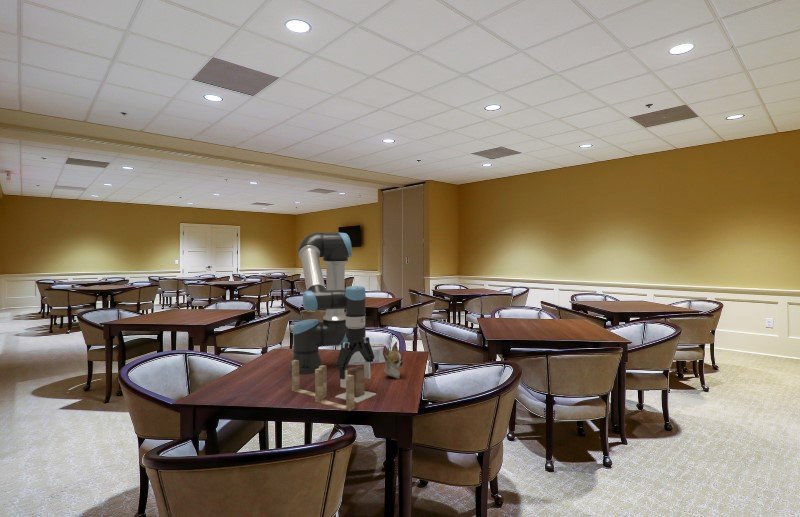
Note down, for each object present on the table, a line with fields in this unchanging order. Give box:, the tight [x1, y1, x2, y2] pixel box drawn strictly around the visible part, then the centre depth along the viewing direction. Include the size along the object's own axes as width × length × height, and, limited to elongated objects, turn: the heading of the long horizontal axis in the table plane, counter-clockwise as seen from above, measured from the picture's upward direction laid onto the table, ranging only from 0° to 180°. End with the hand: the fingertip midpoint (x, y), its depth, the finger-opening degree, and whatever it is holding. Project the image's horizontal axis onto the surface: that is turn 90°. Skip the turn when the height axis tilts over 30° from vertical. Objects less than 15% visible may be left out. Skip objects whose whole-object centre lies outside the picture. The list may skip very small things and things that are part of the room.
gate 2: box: [314, 368, 355, 412], centre depth 151 cm, size 17×2×12 cm, turn 56°
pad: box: [334, 390, 377, 404], centre depth 161 cm, size 11×11×1 cm
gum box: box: [347, 343, 385, 366], centre depth 215 cm, size 22×7×13 cm
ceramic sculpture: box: [383, 341, 403, 380], centre depth 186 cm, size 11×9×15 cm
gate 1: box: [291, 360, 328, 399], centre depth 164 cm, size 17×2×12 cm, turn 56°
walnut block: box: [347, 366, 365, 398], centre depth 161 cm, size 4×4×10 cm
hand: (355, 382), depth 161 cm, fingers open, 13 cm apart
